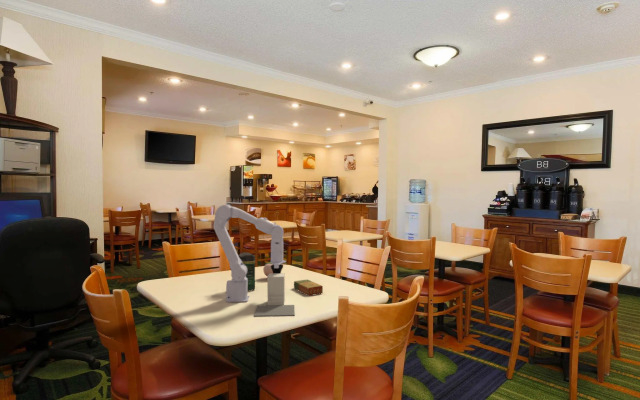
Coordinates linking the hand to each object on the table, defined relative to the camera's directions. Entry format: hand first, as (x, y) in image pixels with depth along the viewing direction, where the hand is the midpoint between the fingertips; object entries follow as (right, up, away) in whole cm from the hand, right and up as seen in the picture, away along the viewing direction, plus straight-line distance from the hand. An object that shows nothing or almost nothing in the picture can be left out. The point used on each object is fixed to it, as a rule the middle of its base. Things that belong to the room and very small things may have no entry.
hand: (276, 280), depth 167 cm
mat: (+1, -9, -17) cm, 19 cm away
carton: (+14, -9, +15) cm, 22 cm away
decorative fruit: (-8, -8, +40) cm, 42 cm away
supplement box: (0, -9, -6) cm, 11 cm away
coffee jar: (-17, -8, +16) cm, 25 cm away
